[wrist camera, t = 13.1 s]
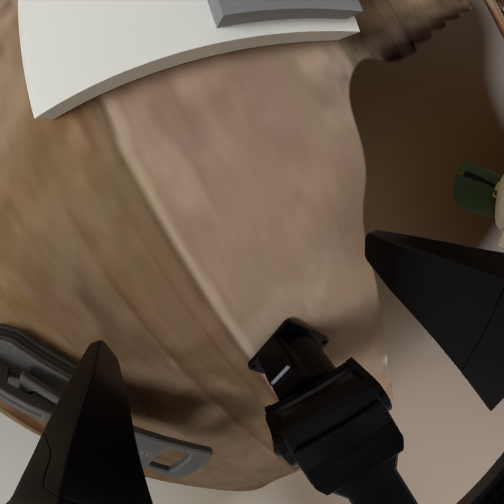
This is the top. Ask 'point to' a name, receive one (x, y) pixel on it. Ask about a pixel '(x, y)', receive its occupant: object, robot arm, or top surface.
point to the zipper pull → (52, 386)
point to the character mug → (481, 194)
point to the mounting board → (154, 39)
